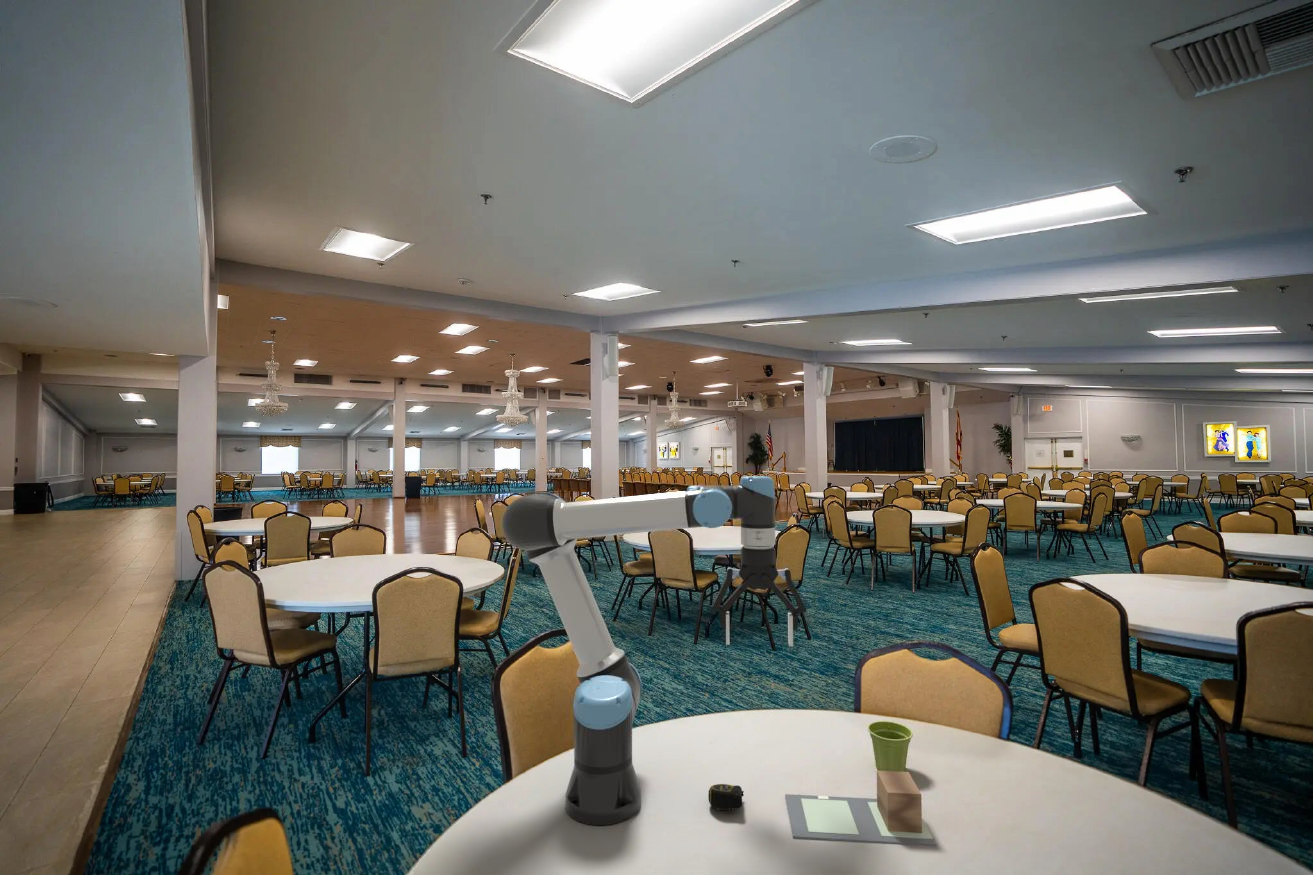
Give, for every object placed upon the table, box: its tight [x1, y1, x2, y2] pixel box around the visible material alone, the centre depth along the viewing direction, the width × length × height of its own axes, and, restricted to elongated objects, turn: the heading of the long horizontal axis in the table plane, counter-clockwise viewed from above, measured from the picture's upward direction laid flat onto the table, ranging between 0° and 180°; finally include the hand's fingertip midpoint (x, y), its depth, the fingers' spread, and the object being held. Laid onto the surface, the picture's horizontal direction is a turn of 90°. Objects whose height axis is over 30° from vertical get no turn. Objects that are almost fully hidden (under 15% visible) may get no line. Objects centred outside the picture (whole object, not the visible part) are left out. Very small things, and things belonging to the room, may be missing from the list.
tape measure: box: [708, 783, 744, 811], centre depth 123 cm, size 7×7×4 cm
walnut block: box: [876, 769, 923, 833], centre depth 117 cm, size 6×8×7 cm
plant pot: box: [867, 720, 914, 772], centre depth 138 cm, size 9×9×9 cm
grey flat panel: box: [784, 793, 937, 847], centre depth 118 cm, size 25×14×1 cm, turn 84°
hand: (759, 643), depth 136 cm, fingers open, 13 cm apart
